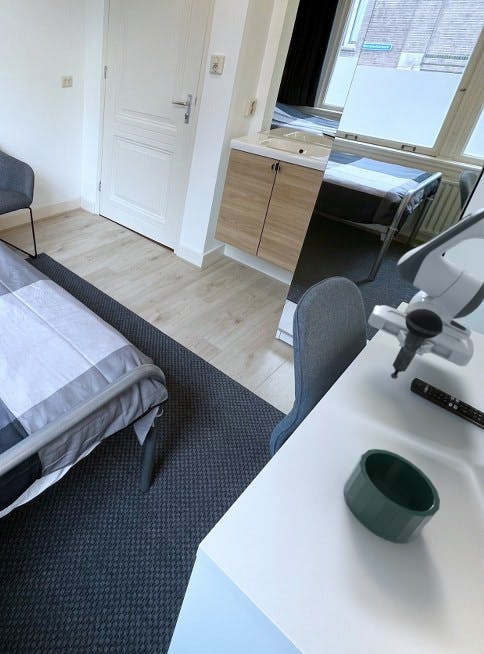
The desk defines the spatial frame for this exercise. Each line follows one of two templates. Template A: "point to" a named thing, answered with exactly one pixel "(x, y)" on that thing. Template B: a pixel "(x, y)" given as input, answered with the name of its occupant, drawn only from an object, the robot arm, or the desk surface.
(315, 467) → the desk surface
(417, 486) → the tin
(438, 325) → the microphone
